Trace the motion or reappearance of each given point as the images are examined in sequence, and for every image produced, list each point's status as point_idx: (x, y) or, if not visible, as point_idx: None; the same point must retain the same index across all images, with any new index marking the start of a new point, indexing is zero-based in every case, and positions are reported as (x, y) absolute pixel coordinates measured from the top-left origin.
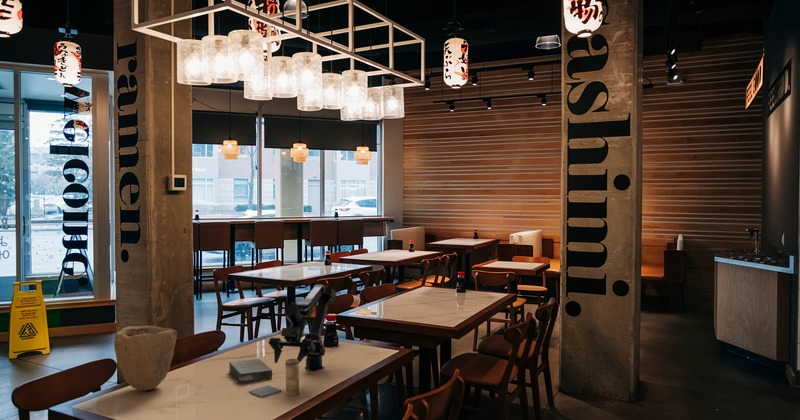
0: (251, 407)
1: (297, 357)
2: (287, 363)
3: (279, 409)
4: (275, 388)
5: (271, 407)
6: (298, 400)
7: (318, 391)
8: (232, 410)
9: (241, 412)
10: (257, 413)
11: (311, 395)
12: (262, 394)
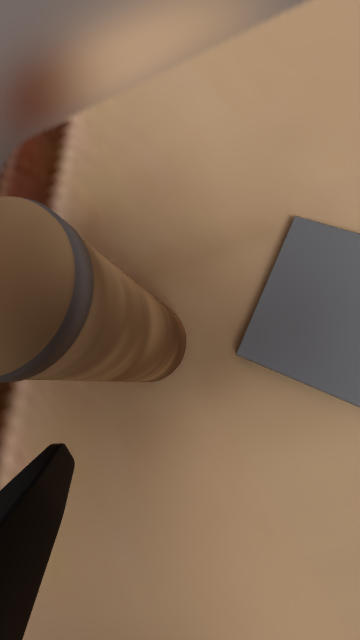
0: (253, 98)
1: (2, 514)
2: (24, 201)
3: (107, 141)
4: (297, 373)
5: (155, 142)
6: None
7: (28, 427)
8: (325, 28)
9: (260, 35)
10: (178, 64)
11: None
12: (310, 245)
